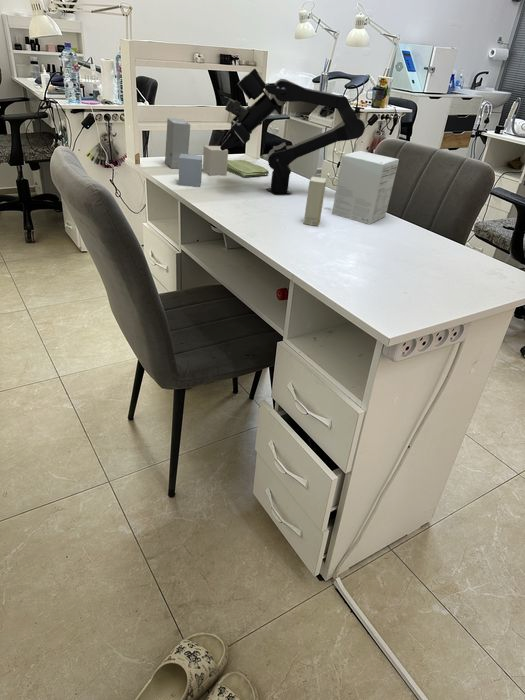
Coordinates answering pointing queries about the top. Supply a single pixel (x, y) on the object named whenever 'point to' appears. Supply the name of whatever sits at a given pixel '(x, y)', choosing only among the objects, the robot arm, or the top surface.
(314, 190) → the skincare box
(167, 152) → the skincare box
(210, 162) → the taupe cardboard box
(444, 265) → the top surface
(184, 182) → the blue box
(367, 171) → the supplement box
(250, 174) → the washcloth
